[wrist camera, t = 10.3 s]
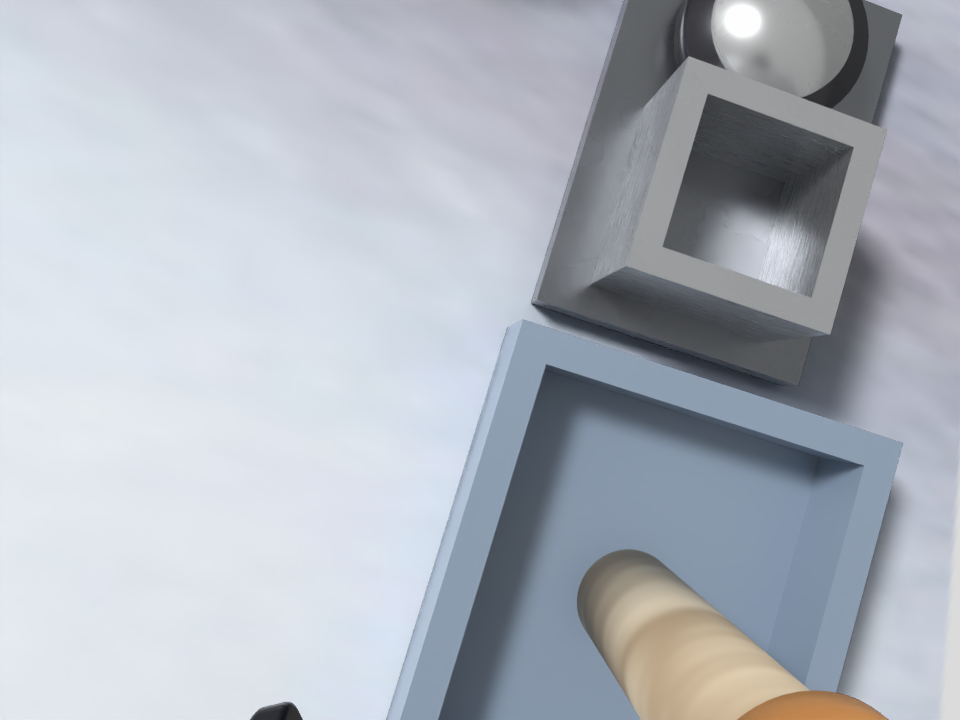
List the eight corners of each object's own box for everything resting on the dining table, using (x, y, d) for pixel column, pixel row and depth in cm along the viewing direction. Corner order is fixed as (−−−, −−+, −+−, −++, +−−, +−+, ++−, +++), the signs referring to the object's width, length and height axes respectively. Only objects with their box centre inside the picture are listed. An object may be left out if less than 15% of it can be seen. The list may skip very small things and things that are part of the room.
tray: (728, 845, 23) (776, 914, 20) (375, 755, 22) (371, 813, 19) (840, 435, 24) (902, 442, 21) (507, 327, 23) (522, 319, 20)
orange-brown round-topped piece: (668, 681, 22) (920, 1009, 11) (543, 646, 22) (680, 952, 11) (708, 554, 22) (998, 758, 11) (584, 517, 22) (762, 691, 11)
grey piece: (781, 385, 24) (869, 385, 19) (531, 303, 23) (562, 283, 18) (882, 29, 25) (988, -49, 20) (643, -63, 24) (698, -167, 19)
